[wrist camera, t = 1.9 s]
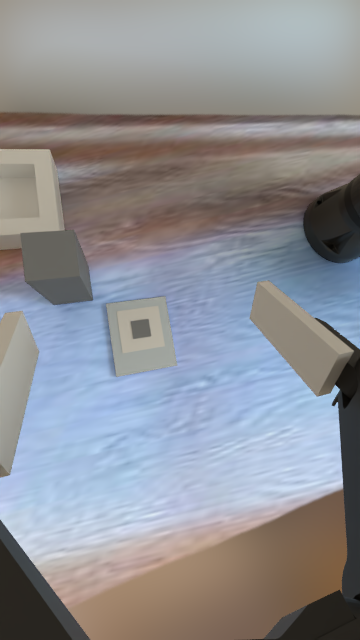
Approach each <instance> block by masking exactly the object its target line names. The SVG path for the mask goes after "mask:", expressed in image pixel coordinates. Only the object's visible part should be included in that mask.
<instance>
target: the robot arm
mask: <svg viewBox="0 0 360 640" xmlns="http://www.w3.org/2000/svg"><path fill="white" fill-rule="evenodd" d="M304 231H305V234H306V237H307V239H308V241H309V243H310V245H311V246H312V247H313V249H314V250H315V251H316V252H317V253H318V254H319V255H321V256H322V257H324V258H325V259H327V260H329V261H332V262H337V263H346V262H349V261H352V260H354V259H356V258H358V257H360V174H359V175H358V176H357V177H356V178H355V179H353V180H352V181H351V182H350V183H348V184H345V185H343V186H341V187H338V188H336V189H333V190H331V191H329V192H326V193H324V194H322V195H321V196H319V197H318V198H317V199H316V200H314V201H313V202H312V203H311V204H310V205H309V206H308V208H307V210H306V212H305V215H304ZM250 319H251V321H252V322H253V323H254V324H255V325H256V326H257V328H258V329H259V330H260V331H261V332H262V333H263V335H264V336H265V337H266V338H267V339H268V340H269V341H270V343H271V344H272V345H273V346H274V347H275V348H276V350H277V351H278V352H279V353H280V354H281V355H282V357H283V358H284V359H285V360H286V361H287V362H288V364H289V365H290V366H291V367H292V368H293V369H294V370H295V372H296V373H297V374H298V375H299V376H300V377H301V379H302V380H303V381H304V382H305V383H306V384H307V386H308V387H309V388H310V389H311V390H312V391H313V393H314V394H315V395H316V396H321V395H325V394H329V393H331V391H332V389H333V387H334V386H335V385H336V386H337V387H338V388H339V389H340V391H339V392H338V394H337V396H336V397H335V399H334V401H333V403H332V406H335V404H336V403H337V402H338V408H339V424H340V440H341V456H342V472H343V489H344V504H345V521H346V535H347V536H346V537H347V561H346V564H345V567H344V571H343V577H342V593H341V592H340V590H338V591H336V592H334V593H332V594H330V595H327V596H325V597H324V598H321V599H319V600H317V601H315V602H313V603H311V604H309V605H307V606H305V607H303V608H301V609H299V610H297V611H295V612H293V613H291V614H289V615H287V616H285V617H283V618H281V620H280V621H279V622H278V623H277V624H276V625H275V626H274V627H273V629H272V630H271V631H270V632H269V633H268V634H267V635H266V637H265V638H264V639H255V640H360V349H358V348H357V347H356V346H355V345H353V344H352V343H351V342H350V341H348V340H347V339H346V338H345V337H343V336H342V335H340V333H339V332H337V331H336V330H334V328H332V327H331V326H330V325H329V324H327V323H326V322H324V321H322V320H320V319H318V318H313V317H312V316H311V315H310V314H308V313H307V312H306V311H305V310H304V309H302V308H301V307H300V306H299V305H298V304H296V303H295V302H294V301H293V300H291V299H290V298H289V297H288V296H287V295H285V294H284V293H283V292H282V291H281V290H279V289H278V288H277V287H276V286H274V285H273V284H272V283H271V282H270V281H261V282H257V287H256V291H255V296H254V301H253V305H252V310H251V314H250ZM38 355H39V350H38V348H37V345H36V343H35V341H34V338H33V336H32V333H31V331H30V328H29V326H28V324H27V321H26V319H25V316H24V314H23V312H22V311H18V312H10V313H5V314H4V316H3V318H2V320H1V322H0V477H4V476H8V475H10V472H11V468H12V464H13V460H14V456H15V451H16V447H17V443H18V439H19V435H20V430H21V426H22V422H23V418H24V414H25V409H26V405H27V401H28V397H29V393H30V388H31V384H32V380H33V376H34V371H35V367H36V363H37V359H38ZM0 640H90V639H89V637H88V636H87V635H86V634H85V632H84V631H83V629H82V628H81V627H80V625H79V624H78V623H77V621H76V620H75V619H74V617H73V616H72V615H71V613H70V612H69V611H68V609H67V608H66V607H65V605H64V604H63V603H62V601H61V600H60V599H59V597H58V596H57V595H56V593H55V592H54V591H53V589H52V588H51V587H50V585H49V584H48V583H47V581H46V580H45V579H44V577H43V576H42V575H41V573H40V572H39V571H38V569H37V568H36V567H35V565H34V564H33V563H32V561H31V560H30V559H29V557H28V556H27V555H26V553H25V552H24V551H23V549H22V548H21V547H20V545H19V544H18V543H17V541H16V540H15V539H14V537H13V536H12V535H11V533H10V532H9V531H8V529H7V528H6V527H5V525H4V524H3V523H2V521H1V520H0ZM252 640H254V639H252Z"/></svg>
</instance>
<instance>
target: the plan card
mask: <svg viewBox="0 0 360 640" xmlns="http://www.w3.org/2000/svg"><path fill="white" fill-rule="evenodd" d="M106 308H107V315H108V322H109V329H110V336H111V343H112V350H113V357H114V364H115V371H116V377H119V376H124V375H129V374H134V373H140V372H145V371H150V370H155V369H161V368H166V367H171V366H176V365H177V361H176V355H175V350H174V344H173V338H172V333H171V327H170V321H169V315H168V310H167V304H166V298H165V296H164V297H156V298H148V299H140V300H132V301H124V302H116V303H109V304H106Z"/></svg>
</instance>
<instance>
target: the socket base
mask: <svg viewBox="0 0 360 640" xmlns="http://www.w3.org/2000/svg"><path fill="white" fill-rule="evenodd" d="M63 230H65V228H64V220H63V212H62V204H61V196H60V188H59V180H58V172H57V168H56V166H55V163H54V160H53V157H52V155H51V152H50V150H46V149H0V250H7V249H20V248H22V246H21V236H20V233H30V232H46V231H63Z"/></svg>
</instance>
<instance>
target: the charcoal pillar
mask: <svg viewBox="0 0 360 640" xmlns="http://www.w3.org/2000/svg"><path fill="white" fill-rule="evenodd" d="M20 236H21V246H22V256H23V266H24V276H25V282H26V283H27V284H29V285H30V286H31V287H32V288H34V289H35V290H36V291H37V292H39V293H40V294H41V295H42V296H44V297H45V298H46V299H47V300H49V301H50V302H51V303H52V304H53V305H58V304H67V303H75V302H83V301H91V300H93V297H92V289H91V282H90V275H89V267H88V264H87V261H86V259H85V256H84V254H83V251H82V249H81V246H80V244H79V241H78V239H77V236H76V234H75V231H74V230H63V231H46V232H30V233H20Z"/></svg>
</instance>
